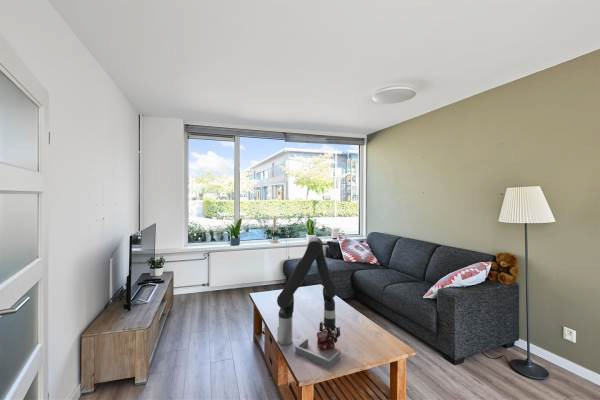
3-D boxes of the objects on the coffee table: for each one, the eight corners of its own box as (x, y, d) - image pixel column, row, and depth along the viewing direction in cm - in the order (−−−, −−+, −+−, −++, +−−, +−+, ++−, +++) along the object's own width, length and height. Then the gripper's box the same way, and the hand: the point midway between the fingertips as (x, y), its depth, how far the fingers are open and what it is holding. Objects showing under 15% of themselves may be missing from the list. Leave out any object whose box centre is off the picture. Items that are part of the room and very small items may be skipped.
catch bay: (295, 352, 170) (295, 346, 170) (306, 344, 180) (306, 338, 180) (329, 368, 155) (329, 361, 155) (340, 358, 165) (340, 351, 165)
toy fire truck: (337, 347, 176) (337, 331, 176) (319, 351, 171) (319, 335, 171) (331, 342, 182) (331, 326, 182) (314, 346, 178) (315, 330, 178)
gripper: (317, 315, 180) (317, 339, 180) (336, 321, 171) (336, 346, 172) (323, 310, 186) (323, 334, 186) (342, 316, 177) (342, 341, 178)
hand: (329, 340), depth 179 cm, fingers open, 8 cm apart
